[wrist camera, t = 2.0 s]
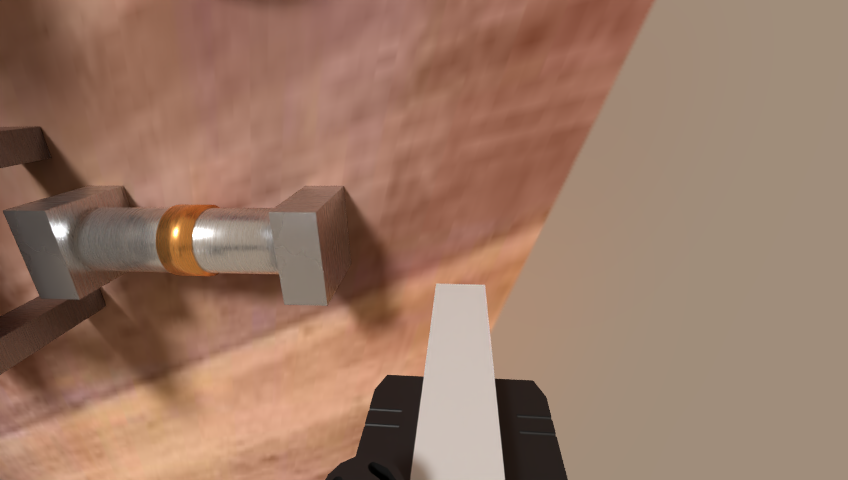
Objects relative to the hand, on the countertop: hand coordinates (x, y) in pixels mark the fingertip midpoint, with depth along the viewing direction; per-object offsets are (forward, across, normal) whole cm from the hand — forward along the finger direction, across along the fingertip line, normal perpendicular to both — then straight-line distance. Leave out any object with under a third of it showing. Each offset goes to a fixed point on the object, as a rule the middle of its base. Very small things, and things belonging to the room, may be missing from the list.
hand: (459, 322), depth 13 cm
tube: (+9, -13, 0) cm, 16 cm away
